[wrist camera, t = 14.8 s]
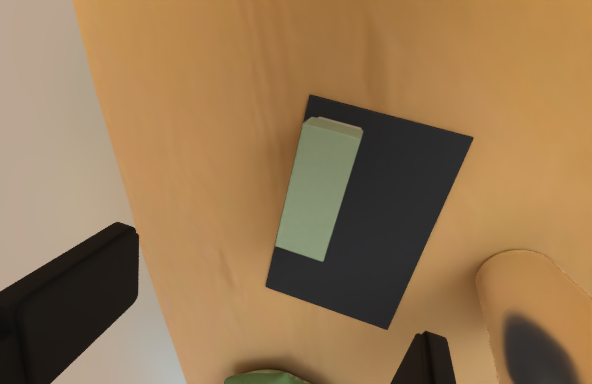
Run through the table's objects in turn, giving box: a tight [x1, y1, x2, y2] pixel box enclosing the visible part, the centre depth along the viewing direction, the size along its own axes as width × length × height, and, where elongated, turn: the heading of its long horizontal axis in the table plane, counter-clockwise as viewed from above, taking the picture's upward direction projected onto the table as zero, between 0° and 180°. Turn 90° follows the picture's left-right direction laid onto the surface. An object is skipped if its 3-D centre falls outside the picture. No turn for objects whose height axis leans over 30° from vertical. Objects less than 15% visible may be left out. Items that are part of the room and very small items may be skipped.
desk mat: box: [266, 95, 473, 330], centre depth 30 cm, size 20×13×1 cm, turn 168°
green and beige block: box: [275, 117, 363, 262], centre depth 26 cm, size 10×4×6 cm, turn 168°
